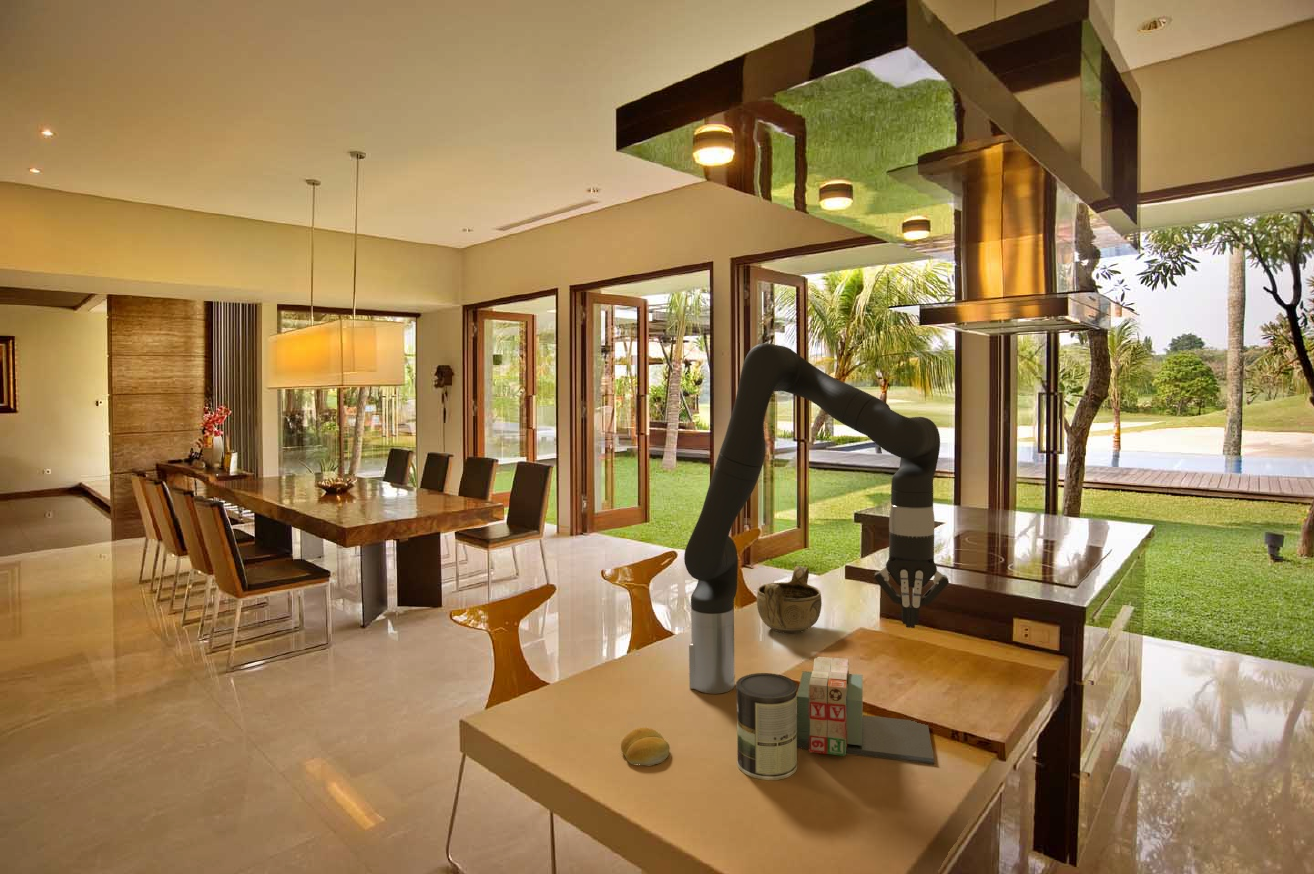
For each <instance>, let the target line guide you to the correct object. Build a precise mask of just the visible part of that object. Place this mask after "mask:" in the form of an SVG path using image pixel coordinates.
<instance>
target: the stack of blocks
mask: <svg viewBox="0 0 1314 874" xmlns="http://www.w3.org/2000/svg"><path fill="white" fill-rule="evenodd" d="M849 663H850V662H849V658H841V657H827V656H826V657H823V656H817V658H814V660H813V666H812V667H813V669H812V671H811V672H812V675H811V678H810V683H809V720H810V733H809V749H808V752H810V753H818V754H824V755H827V754H828V755H833V756H834V755H835V756H841V757H842V756H843V757H845V756H846V747H847V694H848V681H849V674H850V665H849Z"/></svg>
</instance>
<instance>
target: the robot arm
mask: <svg viewBox="0 0 1314 874" xmlns="http://www.w3.org/2000/svg"><path fill="white" fill-rule="evenodd" d="M739 377H740V378H739V381H738V387H737V391H736V397H735V400H734V404H733V409H732V411H731V415H730V419H729V422H728V425H727V428H726V432H725V436H724V439H723V442H722V443H721V444H722V445H721V447H720V450H719V453H718V456H717V460H716V463H715V465H714V470H713V471H712V476H711V478H710V479H711V480H710V482H709V486H708V488H707V491H706V496H705V499H704V501H703V505H702V509H701V512H700V515H699V517H698V519H697V521H696V524H695V526H694V528H693V530H692V533H691V535H690V537H689V539H688V541H687V544H686V546H685V550H684V557H683V559H684V560H683V561H684V565H685V569H686V571H687V572H688V574H689V575H690V576H691V578H693V579H695V580H696V581H697V583H696V586H695V588H694V589H693V592H692V594H691V595H690V619H691V621H690V622H691V623H690V626H691V628H690V629H691V630H690V631H691V642H690V643H689V646H688V662H689V663H688V664H689V665H688V668H689V673H688V675H689V679H688V680H689V689H691V690H692V689H693V690H696V691H698V692H701V693H704V694H711V695H712V694H715V695H717V694H724V693H728V692H729V691H732V690H733V689H735V687H736V682H735V681H736V680H735V678H736V674H735V673H736V672H735V607H734V606H735V605H734V604H735V598H736V596H737V590H738V576H739V575H738V572H739V571H738V570H739V569H738V567H739V565H738V564H739V563H738V562H739V561H738V559H739V558H738V556H739V555H738V550H737V547H736V543H735V542H734V540H733V539H732V538H731V536H730V532H731V530H732V527H733V524H734V523H735V522H736V519H737V517H738V515H739V514H740V513H741V511H742V509H743V508H744V506H745V505H746V503H747V501H749V499H750V497H751V495H752V493H753V492H754V490H755V487H756V485H757V482H758V481H759V479H760V474H761V471H762V470H763V469H762V468H763V465H764V462H765V457H766V439H765V418H766V413H767V409H768V407H769V404H770V401H771V397H772V395H773V393H774V392H785V393H789V394H791V395H795V396H798V397H801V398H804V399H806V400H808V401H809V402H812V403H813V404H815V405H816V406H818V407H819V408H820V409H821V410H822V411H824V412H825V413H826V414H827V415H828V416H830V417H831V418H833V419H834V420H836V421H837V422H839V423H840V424H843V425H845V426H846V427H848V428H850V429H851V430H854V431H856V432H857V433H860V434H862V435H865V436H867V438H869V439H870V440H871V441H872V442H873V443H875V444H876V445H877V446H878V447H880V448H881V449H883V450H884V451H886V452H887V453H890V454H891V455H892V456H895V457H897V458H900V462H899V468H898V470H897V471H896V472H895V473H894V474H893V476H892V478H891V483H890V485H891V487H890V494H891V495H890V510H889V521H888V536H889V537H888V560H887V561H886V562H885V567H884V568H882V569H881V570H877V571H875V572H874V579H875V581H876V583H877V584H878V585H879V586H880V588H881V589H882V590H883V591H884V593H886V595H887V596H888V598H889V599H890V600H891V602H892V603H894V604H898V605H900V606H901V622H902V624H903V625H905V628H907V629H910V628H911V629H915V627H916V626H918V625H919V623H920V608H921V607H923V606H930V605H931V603H933V601H934V600H935V599H936V598H937V597H938V596H939V595H940V594H941V592H942V591H943V590H944V589H946V587H947V586H948V585H949V584H950V580H949V578H948V576H947V575H945V574H942V573H941V572H940V571H938V567H937V564H936V563H935V513H934V512H935V511H934V480H935V473H936V471H937V466H938V462H939V456H940V449H941V437H940V431H939V429H938V427H937V425H936V424H935V422H934V421H933V420H931V419H929V418H927V417H924V416H912V417H908V416H904V415H903V414H900V413H899V412H896V411H894V410H893V409H891V407H890V405H889V404H888V403H887V402H886V401H884V400H882V399H880V398H878V397H876V396H874V395H872V394H870V393H868V392H866V391H864V390H861V389H860V388H857V387H855V386H853V385H851V384H848V383H846V382H844V381H841V380H840V379H837V378H835V377H833V376H831V375H829V374H827V373H825V371H822V370H820V369H819V368H818V367H817V366H815V365H813V364H812V363H811V362H809V361H807V359H805V358H803V357H802V356H801V355H800V354H798V353H797V352H796V351H794V350H792V349H791V348H790V347H787V346H784V345H779V344H774V343H766V342H764V343H763V342H762V343H759V344H756V345H755V346H753V347H752V348H751V349H750V350H749V351H748V353H747V355H746V357H745V358H744V360H743V364H742V368H741V372H740V376H739ZM889 575H890V576H891V578H892V579H893V581H894V582H895V583H896V584H897V586H899V587H900V591H901V594H899V593H898V592H897V591H896V589H895V588H894V587H893V586H892V584H890V582H889V580H890V576H889ZM932 578H933V580H932V581H933V584H932V585H931V587H930V588H929V589H927V591H926V592H925V593H924V594H923V595H922V589H923V588H924V587H926V586H927V584H928V583H929V582H930V580H931V579H932ZM909 588H912V595H911V602H910V593H909ZM910 603H911V604H910Z"/></svg>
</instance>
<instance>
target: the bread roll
mask: <svg viewBox="0 0 1314 874" xmlns="http://www.w3.org/2000/svg"><path fill="white" fill-rule="evenodd" d="M670 748H671V747H670V744H669V742H668V741H667V740H666V739H665V738H664V737H663V735H661V733H659V732H658V731H657V730H655V729H653V728H649V727H639V728H635V729H633V730H631V731H630V732H629V733H627V734H626V735H625V736H624V737H623V739H622V740H621V743H620V751H621V753H622V754H623V755H624V756H625V759H626V761H628V763H629V764H631V765H634V764H638V765H637V766H639V764H640V765H653V766H655V765H654V764H657V765H659V764H661V763H663V762H664V761H665V760H666V759H667V758H668V757H669V755H670Z"/></svg>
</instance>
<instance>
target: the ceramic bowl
mask: <svg viewBox="0 0 1314 874" xmlns="http://www.w3.org/2000/svg"><path fill="white" fill-rule="evenodd" d="M809 570H810V568H809V567H807V566H800V565H795V567H794V569H793V572H792V575H791V576H792V577H791V580H790V581H788V582H785V581H784V582H783V581H782V582H769V583H766V584H762V585H760V586H758V588H757V593H756V606H757V612H758V615H759V617H760V619H761V620H762V622H763V623H764V625H766V626H767V627H768V628H769V629H771V630H773V631H775V632H778V633H780V634H786V635H794V634H799V633H803V632H805V631H807V630H808V629H810V628H811V627H813V626H814V625H815V624H816V623H817V622H818V620H819V618H820V614H821V612H822V611H821V610H822V606H823V605H822V601H823V600H822V593H821V590H820V589H819V588H818V587H815V586H813V585H810V584H808V581H809V575H810V571H809Z"/></svg>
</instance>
